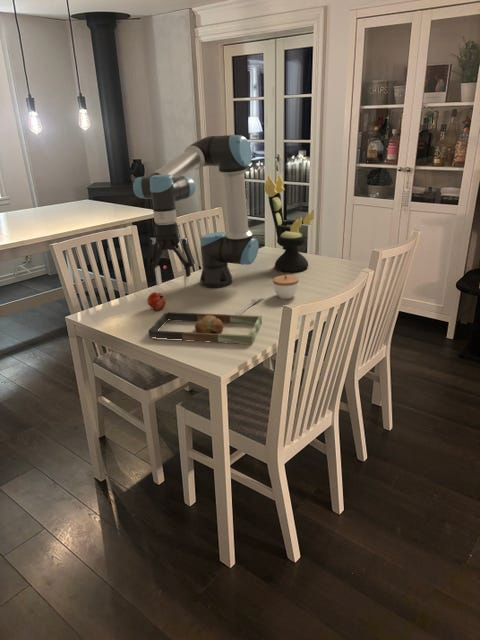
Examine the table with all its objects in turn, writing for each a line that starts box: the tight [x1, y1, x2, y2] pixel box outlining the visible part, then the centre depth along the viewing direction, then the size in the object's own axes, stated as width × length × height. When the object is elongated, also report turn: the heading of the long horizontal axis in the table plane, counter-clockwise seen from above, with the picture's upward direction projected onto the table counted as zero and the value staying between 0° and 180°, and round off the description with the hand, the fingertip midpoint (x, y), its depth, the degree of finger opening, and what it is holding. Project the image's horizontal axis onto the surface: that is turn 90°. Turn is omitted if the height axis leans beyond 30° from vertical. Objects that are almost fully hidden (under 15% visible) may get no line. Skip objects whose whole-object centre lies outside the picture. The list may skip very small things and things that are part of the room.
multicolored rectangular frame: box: [148, 311, 263, 345], centre depth 175 cm, size 18×38×3 cm, turn 77°
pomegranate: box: [146, 292, 167, 311], centre depth 198 cm, size 7×7×10 cm
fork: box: [233, 297, 263, 315], centre depth 196 cm, size 3×21×3 cm, turn 147°
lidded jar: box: [272, 274, 300, 300], centre depth 202 cm, size 11×11×9 cm
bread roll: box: [194, 315, 224, 334], centre depth 175 cm, size 10×10×8 cm
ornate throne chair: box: [263, 174, 315, 273], centre depth 232 cm, size 19×22×45 cm
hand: (173, 284), depth 171 cm, fingers open, 10 cm apart
